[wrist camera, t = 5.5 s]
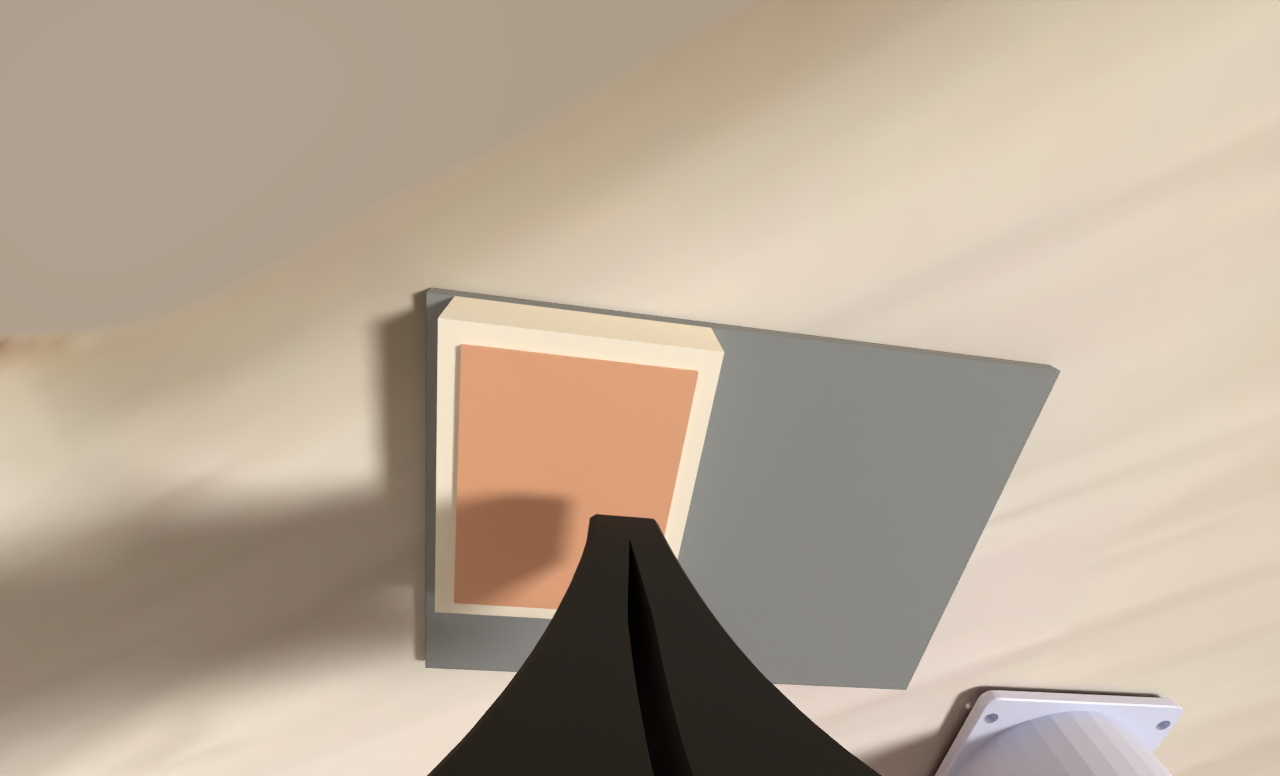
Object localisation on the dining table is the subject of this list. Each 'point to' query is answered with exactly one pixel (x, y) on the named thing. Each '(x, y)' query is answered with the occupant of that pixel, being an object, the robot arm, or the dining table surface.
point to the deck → (557, 443)
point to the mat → (809, 500)
